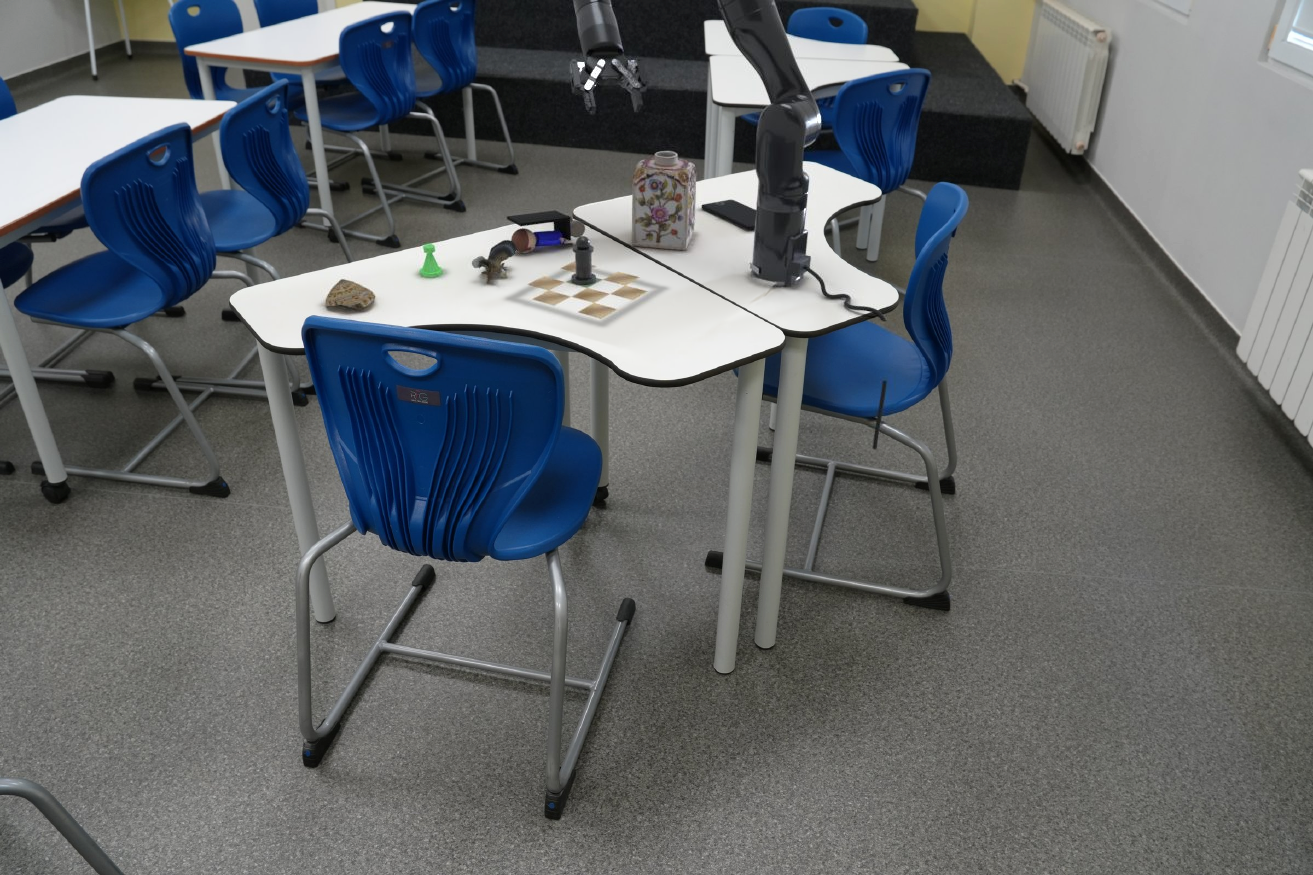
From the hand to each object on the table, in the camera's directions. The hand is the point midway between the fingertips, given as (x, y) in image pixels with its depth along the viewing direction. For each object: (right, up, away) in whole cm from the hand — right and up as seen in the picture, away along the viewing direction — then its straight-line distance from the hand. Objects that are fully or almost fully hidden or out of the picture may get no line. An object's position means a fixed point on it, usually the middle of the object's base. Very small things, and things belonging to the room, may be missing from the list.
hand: (616, 111), depth 180 cm
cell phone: (+26, -11, +39) cm, 48 cm away
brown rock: (-46, -37, -8) cm, 60 cm away
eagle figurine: (-23, -30, +5) cm, 38 cm away
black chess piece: (-6, -31, +1) cm, 32 cm away
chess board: (-5, -34, -1) cm, 34 cm away
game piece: (-35, -29, +5) cm, 46 cm away
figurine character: (-15, -22, +19) cm, 33 cm away
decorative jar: (+9, -19, +25) cm, 32 cm away
